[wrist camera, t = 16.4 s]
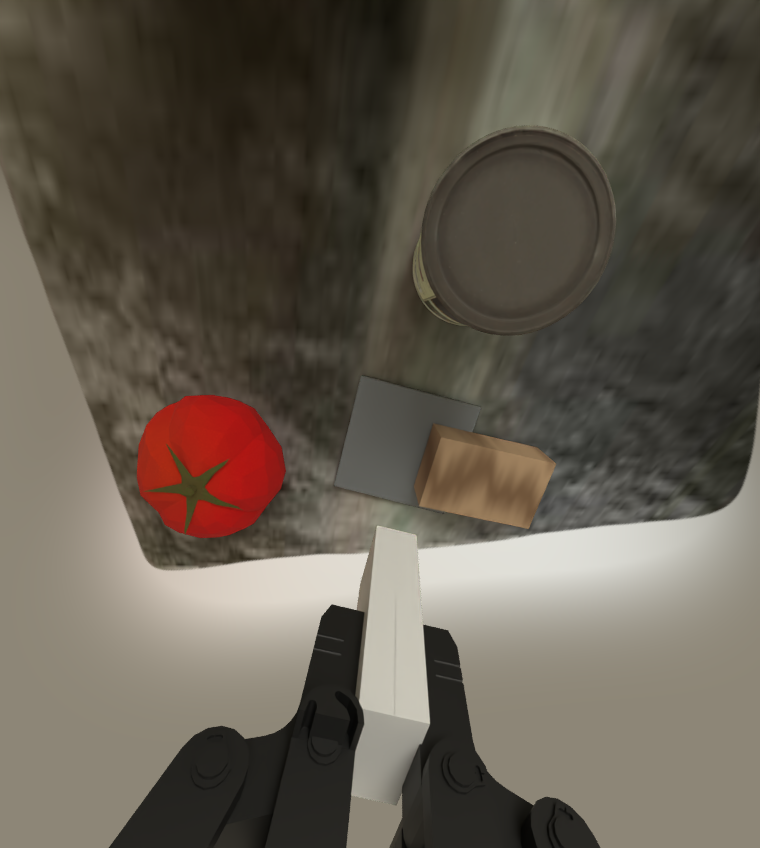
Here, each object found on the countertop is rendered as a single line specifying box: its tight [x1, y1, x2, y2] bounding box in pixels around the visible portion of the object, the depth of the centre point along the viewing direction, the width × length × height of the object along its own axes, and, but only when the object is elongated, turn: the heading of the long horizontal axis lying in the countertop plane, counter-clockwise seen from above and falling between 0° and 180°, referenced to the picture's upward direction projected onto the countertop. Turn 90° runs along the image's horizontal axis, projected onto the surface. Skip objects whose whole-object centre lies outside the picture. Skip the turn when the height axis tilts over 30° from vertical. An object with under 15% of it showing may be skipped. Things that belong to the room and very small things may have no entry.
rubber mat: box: [334, 375, 481, 514], centre depth 39 cm, size 12×12×1 cm
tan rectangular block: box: [414, 423, 556, 529], centre depth 37 cm, size 7×4×11 cm
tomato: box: [137, 395, 286, 538], centre depth 35 cm, size 13×12×11 cm
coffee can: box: [413, 126, 616, 335], centre depth 27 cm, size 10×10×14 cm
